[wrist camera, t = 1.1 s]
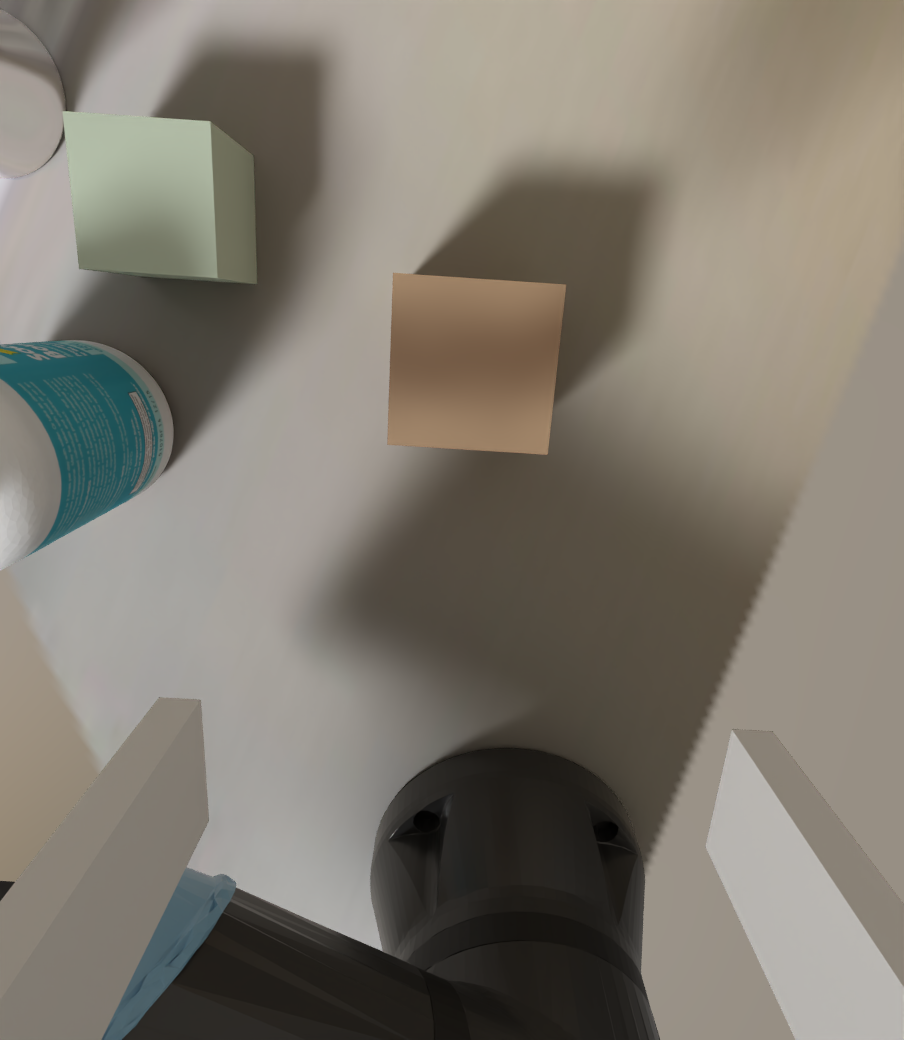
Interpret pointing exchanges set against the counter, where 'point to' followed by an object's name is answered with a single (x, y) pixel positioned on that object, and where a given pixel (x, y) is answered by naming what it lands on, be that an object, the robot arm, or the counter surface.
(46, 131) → the beer glass
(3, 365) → the pill bottle
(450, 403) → the walnut block
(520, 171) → the counter surface
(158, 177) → the sage block
